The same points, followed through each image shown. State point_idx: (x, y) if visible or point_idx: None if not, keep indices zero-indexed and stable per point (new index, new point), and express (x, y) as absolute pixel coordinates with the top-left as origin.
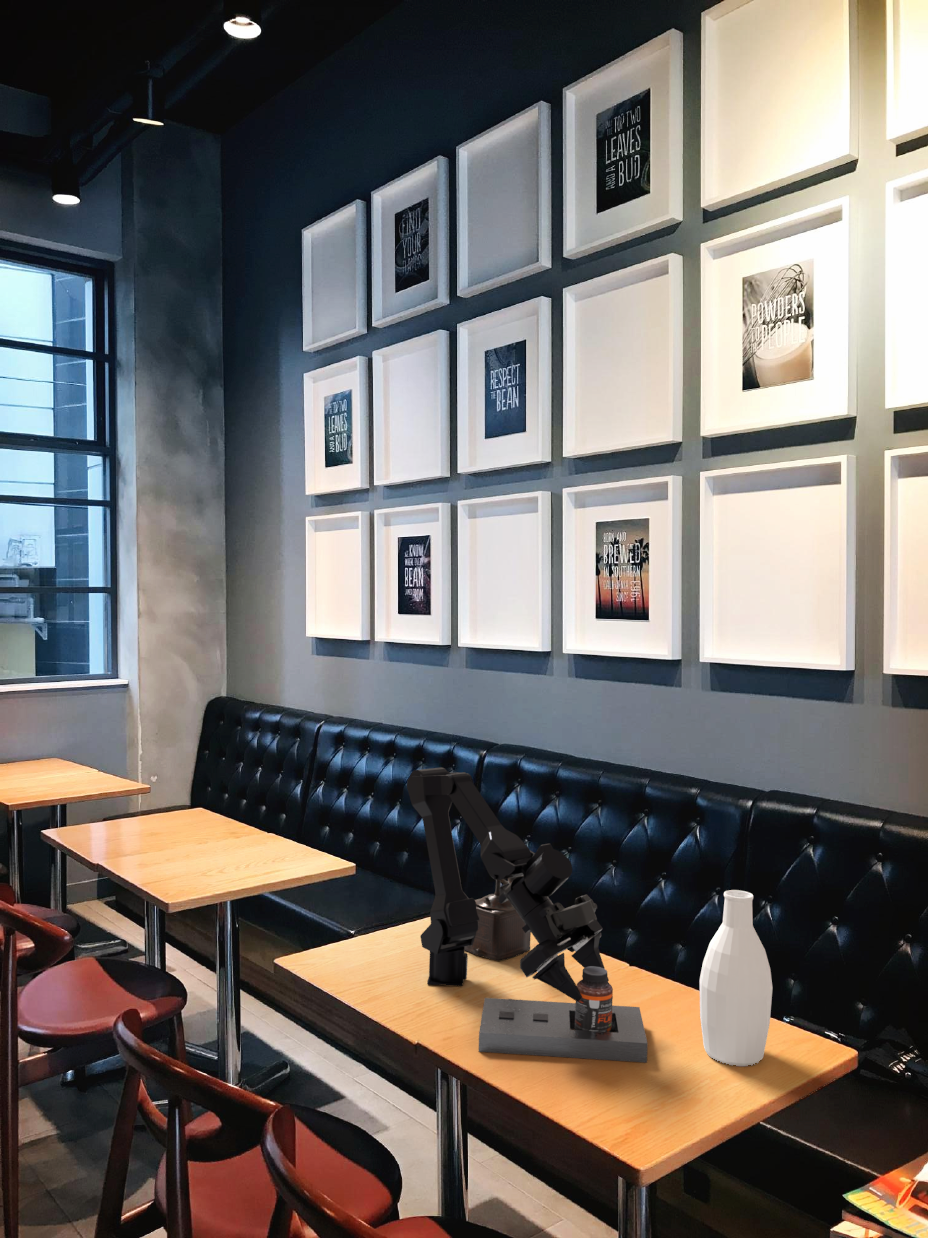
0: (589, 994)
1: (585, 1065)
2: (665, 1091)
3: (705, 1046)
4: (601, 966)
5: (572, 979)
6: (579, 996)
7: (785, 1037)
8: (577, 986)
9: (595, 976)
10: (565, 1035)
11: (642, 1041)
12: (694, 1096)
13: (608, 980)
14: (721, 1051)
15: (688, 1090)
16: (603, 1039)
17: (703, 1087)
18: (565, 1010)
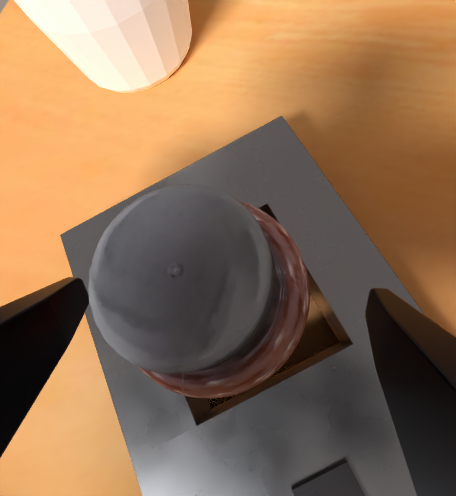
0: (306, 272)
1: (402, 256)
2: (384, 66)
3: (165, 64)
4: (6, 316)
5: (440, 364)
6: (396, 295)
7: (27, 24)
8: (270, 372)
9: (260, 228)
10: None
11: (280, 128)
12: (361, 23)
13: (71, 277)
14: (187, 20)
15: (344, 40)
16: (344, 216)
17: (311, 28)
18: (205, 439)
